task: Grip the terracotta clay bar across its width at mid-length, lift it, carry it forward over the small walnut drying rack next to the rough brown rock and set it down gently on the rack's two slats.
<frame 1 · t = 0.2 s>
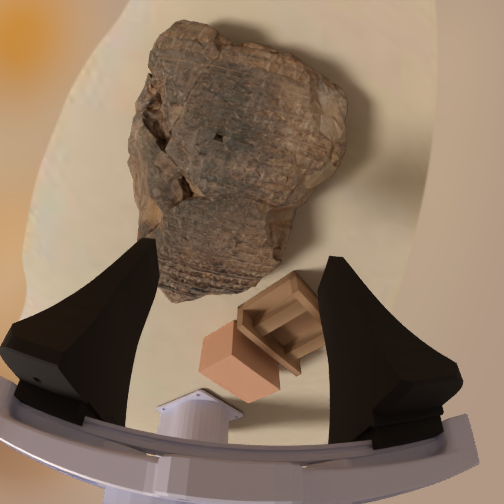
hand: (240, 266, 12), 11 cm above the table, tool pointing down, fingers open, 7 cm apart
clay bar: (241, 347, 30), on the table
rack: (294, 318, 28), on the table
rough brown rock: (218, 174, 22), on the table
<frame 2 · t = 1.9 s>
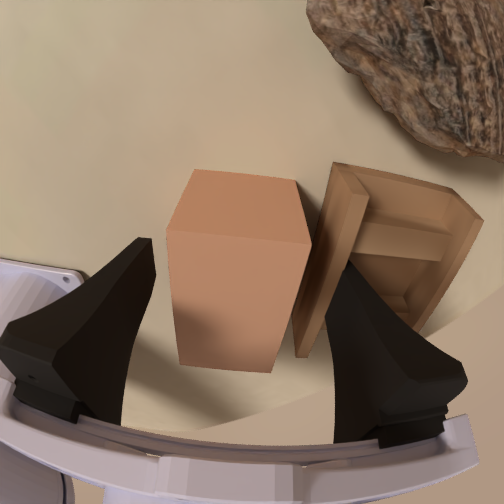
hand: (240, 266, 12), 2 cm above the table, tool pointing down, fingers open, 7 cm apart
clay bar: (236, 243, 14), on the table
rack: (369, 258, 14), on the table
rough brown rock: (490, 6, 6), on the table
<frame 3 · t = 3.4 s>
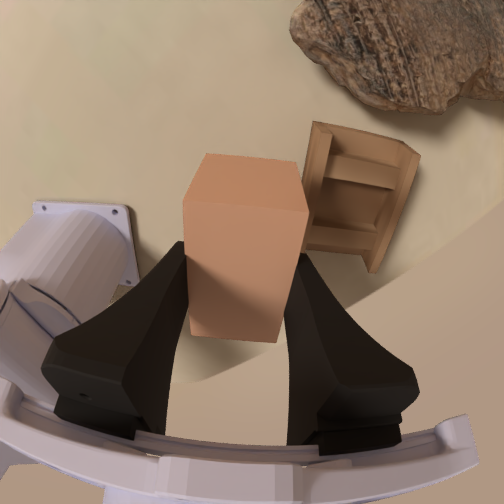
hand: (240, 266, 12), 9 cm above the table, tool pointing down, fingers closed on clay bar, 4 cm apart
clay bar: (244, 223, 15), point 5 cm above the table, touching gripper
rack: (344, 192, 19), on the table
rough brown rock: (427, 10, 11), on the table
when the fingers open (5 cm above the table, at t = 5.1 s): clay bar stays where it is, resting on rack.
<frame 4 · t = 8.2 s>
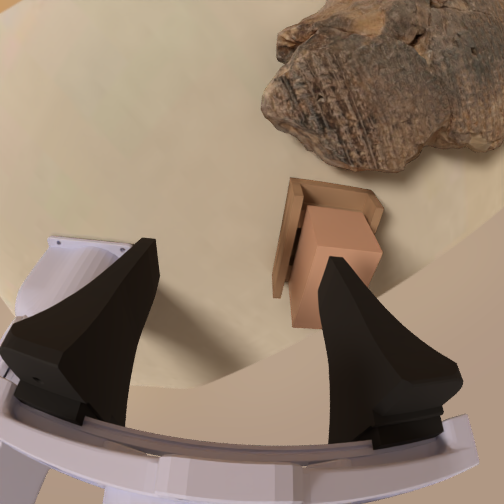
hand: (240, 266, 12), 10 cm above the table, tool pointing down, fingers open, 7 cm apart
clay bar: (323, 250, 22), point 2 cm above the table, touching rack
rack: (319, 235, 23), on the table
rough brown rock: (398, 62, 15), on the table
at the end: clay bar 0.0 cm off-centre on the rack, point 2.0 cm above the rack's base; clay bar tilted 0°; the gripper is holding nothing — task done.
